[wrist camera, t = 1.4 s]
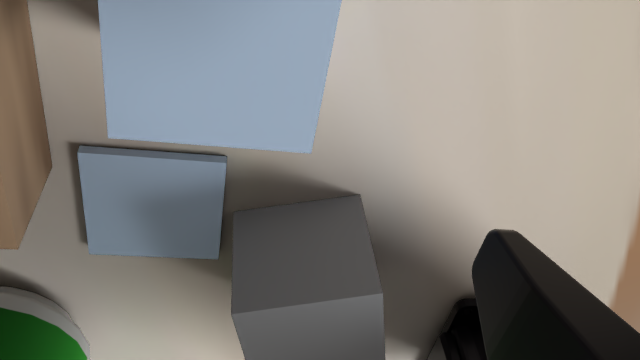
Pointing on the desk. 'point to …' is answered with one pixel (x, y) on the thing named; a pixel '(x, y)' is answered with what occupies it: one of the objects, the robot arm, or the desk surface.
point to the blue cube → (216, 70)
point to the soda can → (37, 329)
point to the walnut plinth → (19, 125)
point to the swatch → (152, 202)
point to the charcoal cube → (307, 283)
